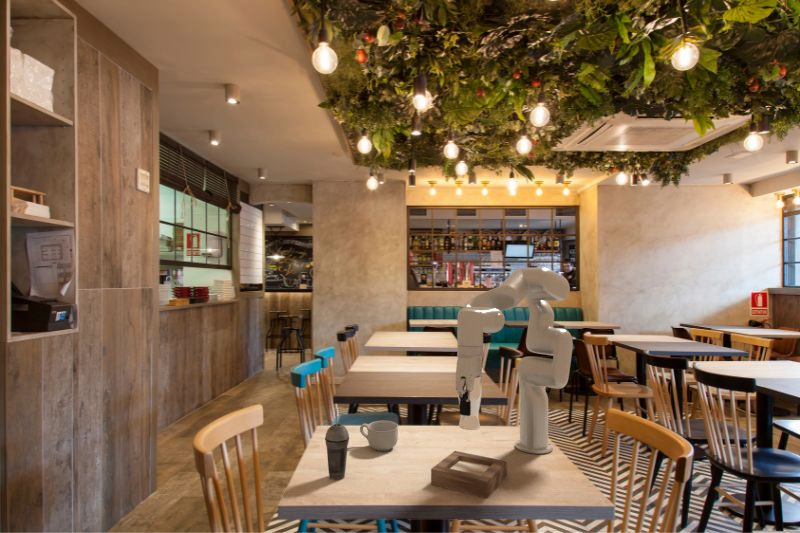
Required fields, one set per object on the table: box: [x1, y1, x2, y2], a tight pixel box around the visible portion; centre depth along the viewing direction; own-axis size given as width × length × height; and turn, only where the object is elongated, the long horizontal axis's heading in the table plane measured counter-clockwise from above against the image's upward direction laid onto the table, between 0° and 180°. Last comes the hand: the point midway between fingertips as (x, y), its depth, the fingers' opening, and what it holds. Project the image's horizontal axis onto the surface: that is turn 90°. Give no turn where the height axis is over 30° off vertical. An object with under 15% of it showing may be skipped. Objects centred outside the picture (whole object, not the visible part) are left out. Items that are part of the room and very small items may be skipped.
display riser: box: [430, 450, 508, 499], centre depth 146 cm, size 17×17×4 cm
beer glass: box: [457, 376, 483, 431], centre depth 146 cm, size 7×7×15 cm
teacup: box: [359, 420, 399, 452], centre depth 174 cm, size 14×11×8 cm
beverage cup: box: [324, 408, 350, 481], centre depth 148 cm, size 7×7×20 cm
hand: (469, 411), depth 146 cm, fingers closed on beer glass, 6 cm apart
